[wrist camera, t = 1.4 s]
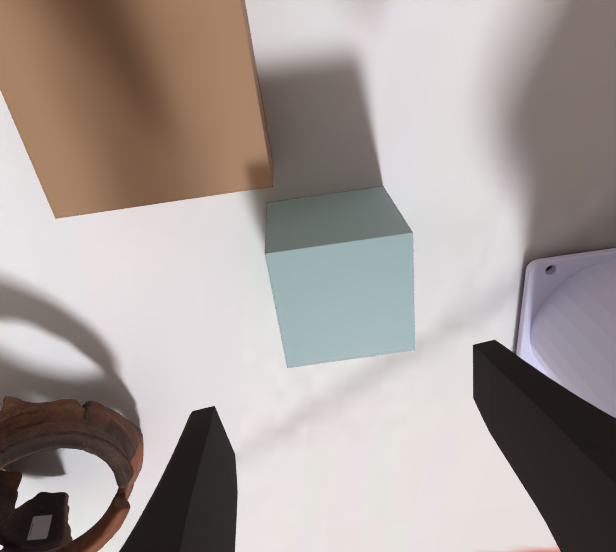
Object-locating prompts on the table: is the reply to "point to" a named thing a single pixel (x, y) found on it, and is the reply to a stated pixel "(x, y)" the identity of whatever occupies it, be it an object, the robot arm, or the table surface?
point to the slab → (134, 100)
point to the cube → (341, 276)
